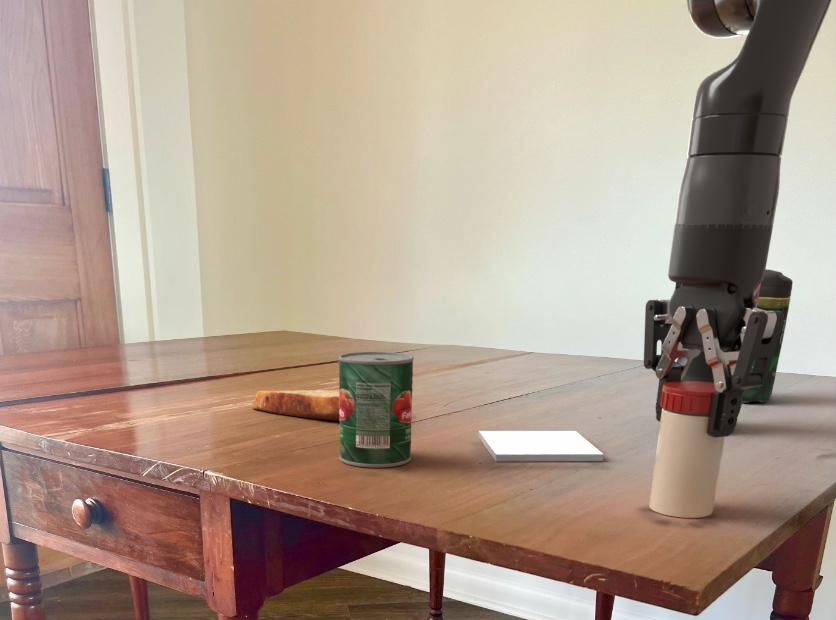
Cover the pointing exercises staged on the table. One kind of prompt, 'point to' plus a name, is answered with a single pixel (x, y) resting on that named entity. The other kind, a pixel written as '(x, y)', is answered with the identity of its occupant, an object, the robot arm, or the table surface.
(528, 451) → the coaster
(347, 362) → the canned tomato
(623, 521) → the table surface
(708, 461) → the jam jar
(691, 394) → the lid
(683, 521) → the table surface
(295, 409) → the bread slice
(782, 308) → the coffee jar
